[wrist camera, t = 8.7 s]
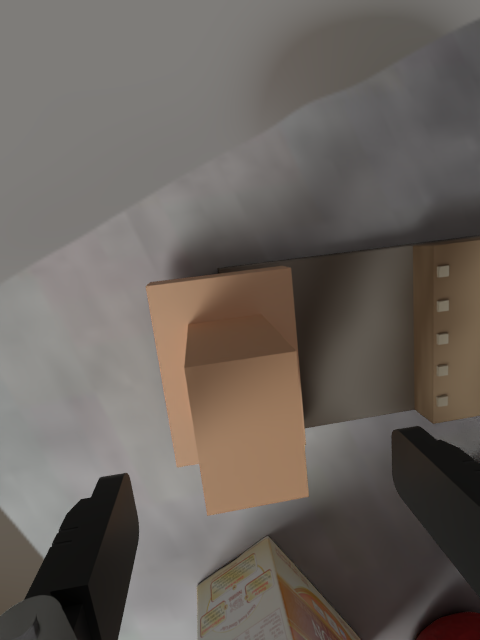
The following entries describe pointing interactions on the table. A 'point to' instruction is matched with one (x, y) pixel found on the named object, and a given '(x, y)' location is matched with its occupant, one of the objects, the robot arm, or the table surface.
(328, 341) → the board
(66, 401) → the table surface
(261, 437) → the stub
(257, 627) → the coffeecake box
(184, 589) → the table surface
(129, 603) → the table surface
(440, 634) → the pomegranate
